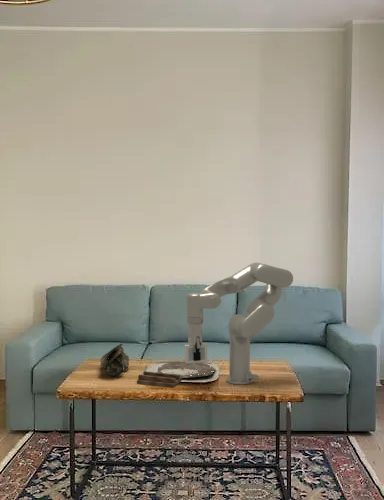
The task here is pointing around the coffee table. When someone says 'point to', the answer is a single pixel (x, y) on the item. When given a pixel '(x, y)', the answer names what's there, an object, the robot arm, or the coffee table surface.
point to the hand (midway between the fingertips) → (196, 359)
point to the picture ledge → (159, 379)
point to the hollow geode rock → (115, 361)
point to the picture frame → (190, 350)
